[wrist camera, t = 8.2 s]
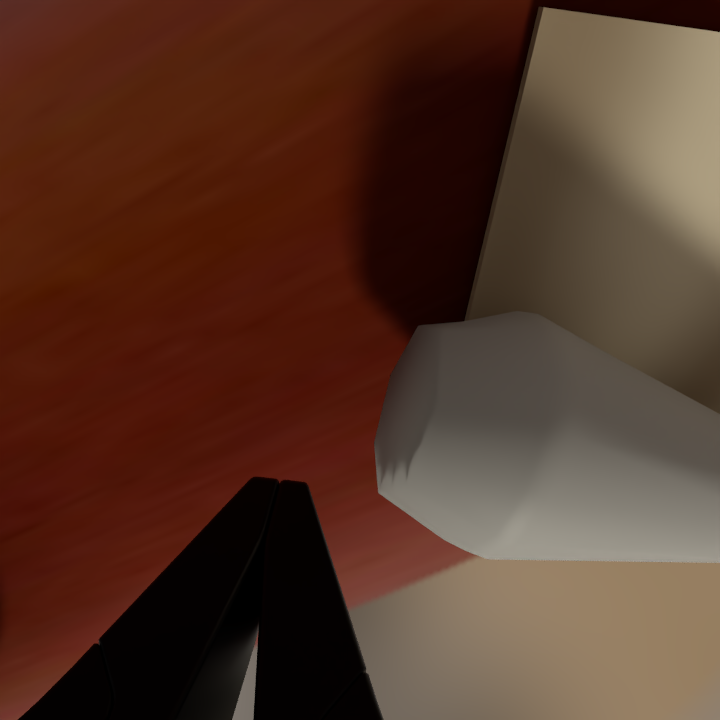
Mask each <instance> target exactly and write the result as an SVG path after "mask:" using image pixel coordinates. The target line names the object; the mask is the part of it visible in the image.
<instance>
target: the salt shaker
mask: <svg viewBox="0 0 720 720" xmlns="http://www.w3.org/2000/svg"><path fill="white" fill-rule="evenodd" d="M374 446H375V458H376V470H377V482H378V493H379V494H381V495H382V496H384V497H385V498H386V499H388V500H389V501H391V502H392V503H393V504H395V505H396V506H398V507H399V508H400V509H402V510H403V511H405V512H406V513H407V514H409V515H410V516H411V517H413V518H414V519H416V520H417V521H418V522H420V523H421V524H423V525H424V526H425V527H427V528H428V529H430V530H431V531H432V532H434V533H435V534H437V535H438V536H439V537H441V538H442V539H444V540H445V541H447V542H449V543H451V544H453V545H455V546H457V547H459V548H461V549H463V550H465V551H467V552H470V553H473V554H475V555H478V556H481V557H483V558H486V559H507V560H510V559H511V560H574V561H575V560H577V561H643V562H644V561H645V562H711V563H712V562H714V563H717V562H718V563H720V414H719V413H717V412H715V411H713V410H711V409H709V408H708V407H706V406H704V405H702V404H700V403H698V402H696V401H695V400H693V399H691V398H689V397H687V396H685V395H684V394H682V393H680V392H678V391H676V390H674V389H672V388H671V387H669V386H667V385H665V384H663V383H661V382H660V381H658V380H656V379H654V378H652V377H650V376H649V375H647V374H645V373H643V372H641V371H639V370H637V369H636V368H634V367H632V366H630V365H628V364H626V363H625V362H623V361H621V360H619V359H617V358H615V357H613V356H612V355H610V354H608V353H606V352H604V351H603V350H601V349H599V348H597V347H596V346H594V345H592V344H590V343H589V342H587V341H585V340H583V339H582V338H580V337H578V336H576V335H575V334H573V333H571V332H569V331H568V330H566V329H564V328H562V327H561V326H559V325H557V324H555V323H554V322H552V321H550V320H548V319H547V318H545V317H543V316H541V315H539V314H535V313H528V312H521V311H514V312H509V313H504V314H499V315H494V316H488V317H483V318H478V319H473V320H468V321H462V322H451V323H440V324H428V325H418V327H417V329H416V330H415V332H414V334H413V336H412V337H411V339H410V341H409V343H408V345H407V346H406V348H405V350H404V352H403V354H402V355H401V357H400V359H399V361H398V362H397V364H396V366H395V368H394V370H393V371H392V373H391V375H390V379H389V384H388V388H387V392H386V396H385V400H384V404H383V408H382V413H381V417H380V421H379V425H378V429H377V433H376V437H375V442H374Z"/></svg>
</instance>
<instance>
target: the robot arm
mask: <svg viewBox="0 0 720 720" xmlns="http://www.w3.org/2000/svg"><path fill="white" fill-rule="evenodd" d="M258 630H259V633H258ZM257 634H258V652H257V668H256V687H255V703H254V720H383V717H382V714H381V711H380V708H379V705H378V703H377V700H376V697H375V694H374V690H373V687H372V684H371V681H370V678H369V675H368V674H367V673H366V666H365V663H364V660H363V657H362V654H361V650H360V647H359V644H358V641H357V638H356V635H355V632H354V628H353V625H352V622H351V619H350V616H349V612H348V609H347V606H346V603H345V600H344V597H343V594H342V590H341V587H340V584H339V581H338V578H337V575H336V571H335V568H334V565H333V562H332V559H331V556H330V553H329V549H328V546H327V543H326V540H325V537H324V534H323V531H322V527H321V524H320V521H319V518H318V515H317V512H316V508H315V505H314V502H313V499H312V496H311V493H310V490H309V487H308V485H307V484H306V483H305V482H299V481H291V480H282V481H281V482H280V483H279V481H278V480H277V479H273V478H264V477H253V478H251V479H250V480H249V481H248V482H247V483H246V484H245V485H244V486H243V487H242V488H241V489H240V490H239V491H238V493H237V494H236V495H235V496H234V497H233V498H232V499H231V500H230V501H229V502H228V503H227V504H226V505H225V506H224V507H223V508H222V509H221V511H220V512H219V513H218V514H217V515H216V516H215V517H214V518H213V519H212V520H211V521H210V522H209V523H208V524H207V525H206V526H205V527H204V529H203V530H202V531H201V532H200V533H199V534H198V535H197V536H196V537H195V538H194V539H193V540H192V541H191V542H190V543H189V544H188V545H187V546H186V548H185V549H184V550H183V551H182V552H181V553H180V554H179V555H178V556H177V557H176V558H175V559H174V560H173V561H172V562H171V563H170V564H169V566H168V567H167V568H166V569H165V570H164V571H163V572H162V573H161V574H160V575H159V576H158V577H157V578H156V579H155V580H154V581H153V582H152V583H151V585H150V586H149V587H148V588H147V589H146V590H145V591H144V592H143V593H142V594H141V595H140V596H139V597H138V598H137V599H136V600H135V601H134V603H133V604H132V605H131V606H130V607H129V608H128V609H127V610H126V611H125V612H124V613H123V614H122V615H121V616H120V617H119V618H118V619H117V620H116V622H115V623H114V624H113V625H112V626H111V627H110V628H109V629H108V630H107V631H106V632H105V633H104V634H103V635H102V636H101V637H100V639H99V644H93V645H92V646H91V648H90V649H89V650H88V651H87V652H86V653H85V654H84V655H83V656H82V657H81V658H80V659H79V660H78V661H77V663H76V664H75V665H74V666H73V667H72V668H71V669H70V670H69V671H68V672H67V673H66V674H65V675H64V676H63V677H62V678H61V679H60V680H59V681H58V682H57V683H56V684H55V685H54V686H53V687H52V688H51V689H50V690H49V691H48V692H47V693H46V694H45V695H44V696H43V697H42V698H41V699H40V700H39V701H38V702H37V703H36V704H35V705H33V706H32V707H31V708H30V709H29V710H28V711H27V712H26V713H25V714H24V715H23V716H21V717H20V718H19V719H18V720H232V718H233V715H234V711H235V708H236V705H237V701H238V698H239V695H240V691H241V688H242V684H243V681H244V678H245V675H246V671H247V668H248V665H249V661H250V658H251V654H252V651H253V648H254V644H255V641H256V637H257Z"/></svg>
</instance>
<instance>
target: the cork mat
mask: <svg viewBox="0 0 720 720" xmlns="http://www.w3.org/2000/svg"><path fill="white" fill-rule="evenodd" d="M514 311H521V312H528V313H535V314H539V315H541V316H543V317H545V318H547V319H548V320H550V321H552V322H554V323H555V324H557V325H559V326H561V327H562V328H564V329H566V330H568V331H569V332H571V333H573V334H575V335H576V336H578V337H580V338H582V339H583V340H585V341H587V342H589V343H590V344H592V345H594V346H596V347H597V348H599V349H601V350H603V351H604V352H606V353H608V354H610V355H612V356H613V357H615V358H617V359H619V360H621V361H623V362H625V363H626V364H628V365H630V366H632V367H634V368H636V369H637V370H639V371H641V372H643V373H645V374H647V375H649V376H650V377H652V378H654V379H656V380H658V381H660V382H661V383H663V384H665V385H667V386H669V387H671V388H672V389H674V390H676V391H678V392H680V393H682V394H684V395H685V396H687V397H689V398H691V399H693V400H695V401H696V402H698V403H700V404H702V405H704V406H706V407H708V408H709V409H711V410H713V411H715V412H717V413H719V414H720V32H716V31H708V30H701V29H694V28H687V27H680V26H673V25H666V24H659V23H652V22H645V21H638V20H630V19H623V18H616V17H609V16H602V15H595V14H588V13H581V12H574V11H567V10H560V9H553V8H545V7H539V8H538V13H537V17H536V21H535V25H534V29H533V34H532V38H531V42H530V46H529V51H528V55H527V59H526V63H525V67H524V72H523V76H522V80H521V84H520V89H519V93H518V97H517V101H516V105H515V110H514V114H513V118H512V122H511V127H510V131H509V135H508V139H507V143H506V148H505V152H504V156H503V160H502V165H501V169H500V173H499V177H498V181H497V186H496V190H495V194H494V198H493V202H492V207H491V211H490V215H489V219H488V224H487V228H486V232H485V236H484V240H483V245H482V249H481V253H480V257H479V262H478V266H477V270H476V274H475V278H474V283H473V287H472V291H471V295H470V300H469V304H468V308H467V312H466V316H465V321H468V320H473V319H478V318H483V317H488V316H494V315H499V314H504V313H509V312H514Z"/></svg>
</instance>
